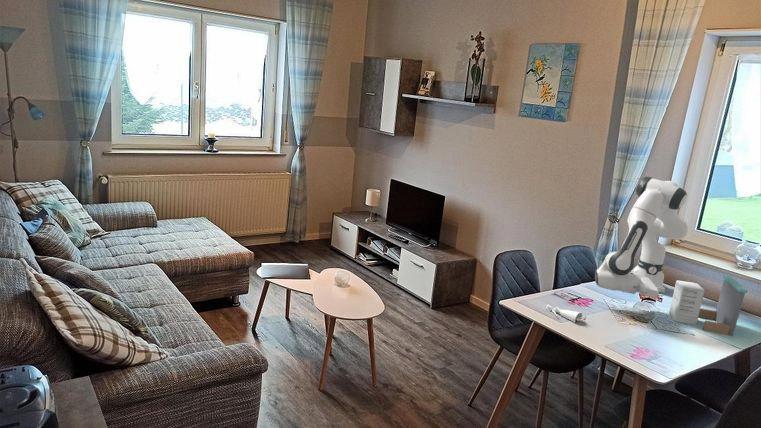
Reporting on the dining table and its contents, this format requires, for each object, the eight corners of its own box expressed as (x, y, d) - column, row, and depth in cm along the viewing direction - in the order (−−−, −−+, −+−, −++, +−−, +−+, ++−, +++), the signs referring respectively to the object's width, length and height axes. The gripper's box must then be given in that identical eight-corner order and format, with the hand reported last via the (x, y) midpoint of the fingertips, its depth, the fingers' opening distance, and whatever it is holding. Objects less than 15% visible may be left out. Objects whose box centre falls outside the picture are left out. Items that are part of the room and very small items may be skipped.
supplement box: (696, 325, 239) (705, 290, 235) (674, 321, 241) (683, 286, 237) (689, 317, 249) (697, 282, 245) (667, 313, 250) (676, 279, 246)
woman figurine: (578, 317, 223) (540, 304, 236) (577, 327, 224) (538, 314, 237) (591, 311, 231) (553, 299, 244) (590, 321, 232) (552, 309, 244)
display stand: (691, 314, 252) (702, 271, 247) (719, 319, 250) (730, 276, 245) (704, 330, 234) (716, 285, 229) (734, 336, 232) (747, 290, 227)
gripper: (638, 284, 236) (672, 290, 233) (629, 271, 256) (660, 276, 253) (635, 298, 237) (669, 304, 234) (626, 283, 257) (657, 289, 254)
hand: (664, 289), depth 244 cm, fingers closed
